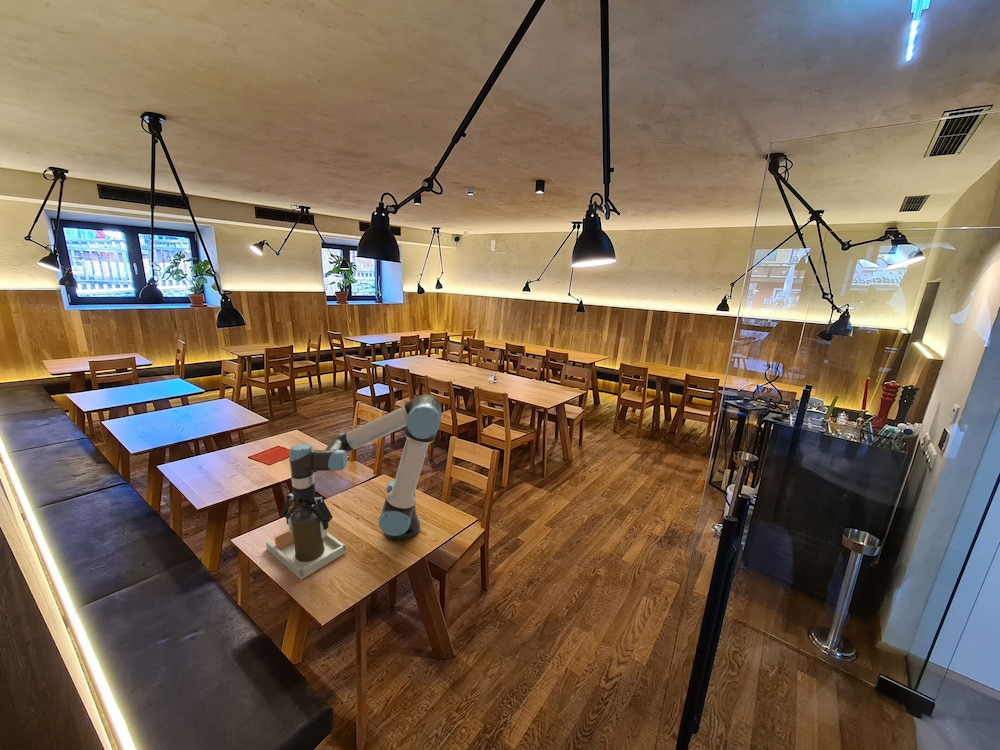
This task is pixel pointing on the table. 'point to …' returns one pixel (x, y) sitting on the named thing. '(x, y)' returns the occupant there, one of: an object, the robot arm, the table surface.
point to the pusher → (283, 539)
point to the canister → (307, 535)
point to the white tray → (303, 569)
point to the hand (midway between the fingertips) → (308, 533)
